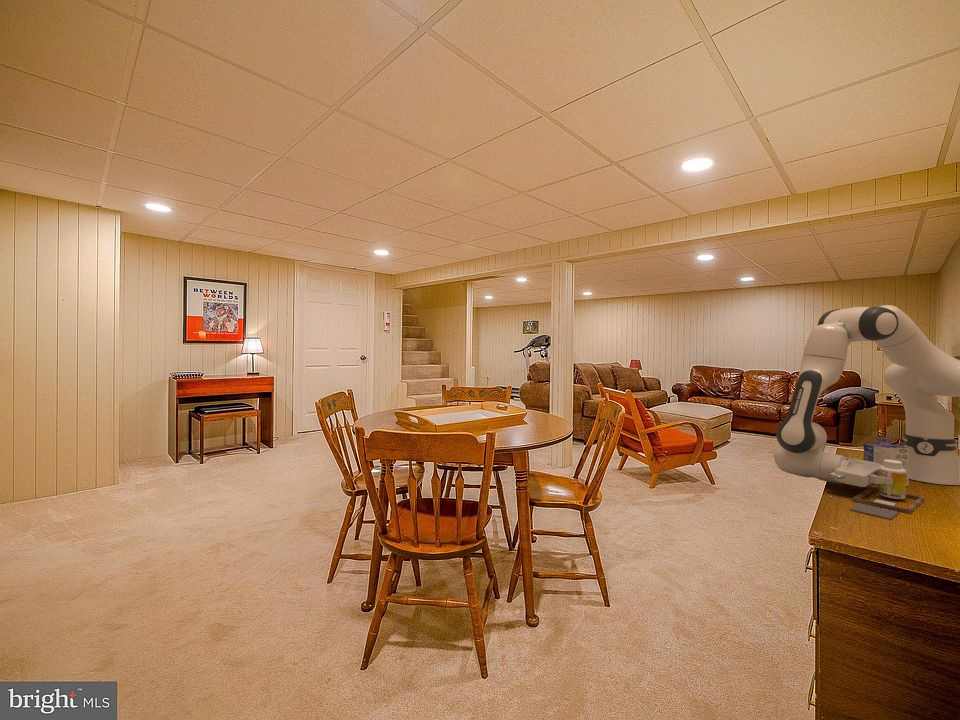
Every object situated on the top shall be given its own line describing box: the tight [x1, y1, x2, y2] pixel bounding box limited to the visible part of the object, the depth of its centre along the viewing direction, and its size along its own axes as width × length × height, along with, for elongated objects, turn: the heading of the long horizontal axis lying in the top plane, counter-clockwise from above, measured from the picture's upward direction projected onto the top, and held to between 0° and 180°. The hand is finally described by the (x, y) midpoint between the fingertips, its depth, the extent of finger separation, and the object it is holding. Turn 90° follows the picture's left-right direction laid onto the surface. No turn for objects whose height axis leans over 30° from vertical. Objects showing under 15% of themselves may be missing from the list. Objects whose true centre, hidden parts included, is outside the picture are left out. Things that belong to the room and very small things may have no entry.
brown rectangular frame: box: [852, 486, 925, 515], centre depth 122 cm, size 18×12×1 cm, turn 126°
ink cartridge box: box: [863, 436, 910, 487], centre depth 138 cm, size 10×6×14 cm, turn 78°
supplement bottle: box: [878, 460, 907, 500], centre depth 124 cm, size 6×6×10 cm
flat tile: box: [873, 498, 897, 506], centre depth 119 cm, size 4×4×1 cm
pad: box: [849, 502, 900, 521], centre depth 113 cm, size 8×8×1 cm
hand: (896, 479), depth 123 cm, fingers closed on supplement bottle, 5 cm apart
